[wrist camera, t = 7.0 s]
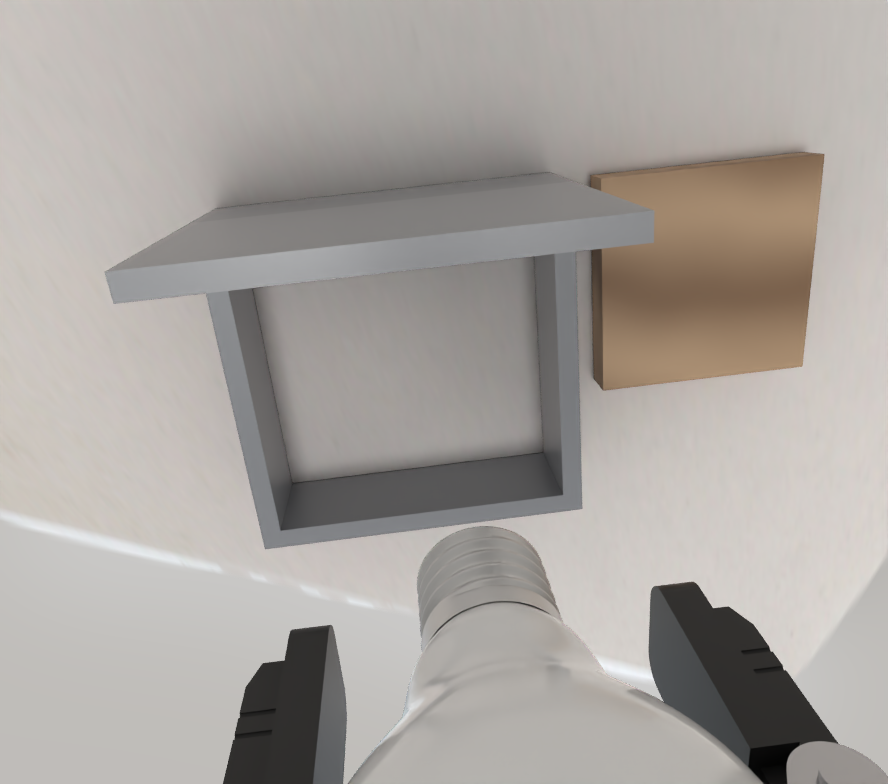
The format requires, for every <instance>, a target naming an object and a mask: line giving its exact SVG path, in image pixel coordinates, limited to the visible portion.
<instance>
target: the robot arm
mask: <svg viewBox="0 0 888 784" xmlns="http://www.w3.org/2000/svg"><path fill="white" fill-rule="evenodd" d="M649 660H650V666H651V671H652V674H653V678H654V681H655V684H656V686H657V688H658V690H659V693H660V694H661V697H662V699H663V701H664V703H666V704H668V705H670V706H672V707H673V708H675V709H676V710H678V711H680V712H681V713H683V714H684V715H686V716H688V717H689V718H690V719H692V720H693V721H695V722H696V723H698V724H699V725H701V726H702V727H703V728H705V729H706V730H707V731H709V732H710V733H711V734H712V735H714V736H715V737H716V738H717V739H719V740H720V741H721V742H722V743H723V744H725V745H726V746H727V747H728V748H729V749H730V750H731V751H732V752H734V753H735V754H736V755H737V756H738V757H739V758H740V759H741V760H742V761H743V762H744V763H745V764H746V765H747V766H748V767H749V768H750V769H751V770H752V771H753V772H754V773H755V774H756V775H757V776H758V777H759V778H760V780H761V781H762V782H763V783H764V784H888V776H887V775H886V774H885V772H884V771H883V770H882V769H881V768H880V767H879V766H878V765H877V764H875V763H874V762H873V761H872V760H871V759H869V758H868V757H866V756H864V755H863V754H861V753H859V752H858V751H856V750H854V749H851V748H849V747H846V746H844V745H840V744H838V742H837V741H836V740H835V739H834V737H833V736H832V734H831V733H830V731H829V730H828V729H827V727H826V726H825V725H824V723H823V722H822V720H821V719H820V717H819V716H818V715H817V713H816V712H815V711H814V709H813V708H812V706H811V705H810V703H809V702H808V701H807V699H806V698H805V696H804V695H803V694H802V692H801V691H800V689H799V688H798V687H797V685H796V684H795V682H794V681H793V679H792V678H791V677H790V675H789V674H788V672H787V671H786V670H785V671H784V670H783V665H782V664H781V663H780V661H779V660H778V658H777V657H776V656H775V654H774V653H773V652H771V651H770V648H769V646H768V644H767V643H766V642H765V640H764V639H763V637H762V636H761V635H760V633H759V632H758V630H757V629H756V628H755V626H754V625H753V624H752V623H751V622H749V621H748V620H746V619H745V618H744V617H742V616H741V615H739V614H738V613H737V612H735V611H734V610H733V609H731V608H730V607H721V608H712V606H711V604H710V603H709V601H708V600H707V598H706V597H705V595H704V594H703V592H702V591H701V589H700V588H699V586H698V585H697V584H696V583H694V582H686V583H678V584H670V585H661V586H654V587H653V588H652V590H651V599H650V627H649ZM346 721H347V712H346V697H345V688H344V683H343V677H342V672H341V666H340V661H339V655H338V650H337V645H336V639H335V634H334V630H333V627H332V625H327V626H318V627H310V628H302V629H294V630H291V632H290V635H289V639H288V645H287V651H286V656H285V661H277V662H269V663H263V664H262V665H261V667H260V668H259V670H258V671H257V672H256V674H255V675H254V676H253V678H252V680H251V681H250V682H249V683H248V685H247V686H246V689H245V693H244V698H243V702H242V706H241V710H240V718H239V719H238V723H237V727H236V731H235V740H233V744H232V748H231V752H230V756H229V761H228V765H227V769H226V773H225V777H224V782H223V784H343V775H344V758H345V741H346Z"/></svg>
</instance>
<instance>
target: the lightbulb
mask: <svg viewBox="0 0 888 784" xmlns="http://www.w3.org/2000/svg"><path fill="white" fill-rule="evenodd" d="M417 591H418V603H419V617H420V624H421V626H420V631H421V638H422V641H421V648H422V654H421V655H420V657H419V659H418V661H417V663H416V665H415V668H414V670H413V673H412V676H411V679H410V683H409V687H408V691H407V696H406V702H405V707H404V712H403V716H402V718H401V719H400V720H399V722H398V723H397V724H396V725H395V726H394V727H393V728H392V729H391V731H389V732H388V734H387V735H386V736H385V737H384V738H383V739H382V740H381V741H380V743H379V744H378V745H377V746H376V747H375V748H374V750H373V751H372V752H371V753H370V755H369V756H368V757H367V758H366V759H365V761H364V762H363V763H362V765H361V766H360V767H359V769H358V770H357V771H356V773H355V774H354V776H353V777H352V779H351V780H350V781H349V783H348V784H764V783H763V782H762V781H761V780H760V778H759V777H758V776H757V775H756V774H755V773H754V772H753V771H752V770H751V769H750V768H749V767H748V766H747V765H746V764H745V763H744V762H743V761H742V760H741V759H740V758H739V757H738V756H737V755H736V754H735V753H734V752H732V751H731V750H730V749H729V748H728V747H727V746H726V745H725V744H723V743H722V742H721V741H720V740H719V739H717V738H716V737H715V736H714V735H712V734H711V733H710V732H709V731H707V730H706V729H705V728H703V727H702V726H701V725H699V724H698V723H696V722H695V721H693V720H692V719H690V718H689V717H688V716H686V715H684V714H683V713H681V712H680V711H678V710H676V709H675V708H673V707H672V706H670V705H668V704H666V703H664V702H663V701H661V700H659V699H657V698H655V697H654V696H652V695H650V694H648V693H646V692H643V691H641V690H639V689H637V688H635V687H633V686H631V685H629V684H627V683H624V682H622V681H620V680H618V679H616V678H613V677H611V676H609V675H608V674H607V673H606V672H605V671H604V670H603V668H602V667H601V665H600V664H599V662H598V661H597V659H596V658H595V656H594V655H593V654H592V652H591V651H590V649H589V648H588V647H587V645H586V644H585V643H584V642H583V641H582V639H581V638H580V637H579V636H578V635H577V634H576V633H575V632H574V631H572V630H571V629H570V628H569V627H568V626H567V625H565V624H564V623H563V620H562V618H561V616H560V612H559V609H558V607H557V605H556V602H555V598H554V595H553V593H552V591H551V587H550V584H549V581H548V579H547V576H546V572H545V569H544V567H543V565H542V562H541V559H540V557H539V555H538V553H537V551H536V550H535V548H534V547H533V546H532V545H531V544H530V543H529V542H528V541H527V540H526V539H524V538H523V537H522V536H520V535H518V534H516V533H514V532H512V531H509V530H506V529H503V528H498V527H489V526H480V527H472V528H468V529H464V530H461V531H458V532H456V533H453V534H451V535H449V536H447V537H446V538H444V539H443V540H441V541H440V542H439V543H437V544H436V545H435V546H434V547H433V548H432V549H431V550H430V552H429V553H428V554H427V555H426V557H425V558H424V560H423V562H422V564H421V566H420V569H419V572H418V577H417Z"/></svg>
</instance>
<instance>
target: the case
mask: <svg viewBox="0 0 888 784" xmlns="http://www.w3.org/2000/svg"><path fill="white" fill-rule="evenodd" d="M647 243H654V210H651V209H649V208H646V207H643V206H640V205H638V204H635V203H632V202H629V201H627V200H624V199H621V198H619V197H616V196H613V195H610V194H608V193H605V192H602V191H599V190H597V189H594V188H591V187H588V186H586V185H583V184H580V183H578V182H575V181H572V180H569V179H567V178H564V177H561V176H558V175H556V174H553V173H550V172H547V173H538V174H529V175H519V176H510V177H501V178H492V179H483V180H473V181H464V182H455V183H446V184H437V185H427V186H418V187H409V188H400V189H391V190H381V191H372V192H363V193H354V194H345V195H335V196H326V197H317V198H308V199H299V200H289V201H280V202H271V203H262V204H253V205H243V206H234V207H225V208H216V209H214V210H212V211H210V212H209V213H207V214H205V215H203V216H202V217H200V218H198V219H196V220H195V221H193V222H191V223H189V224H188V225H186V226H184V227H182V228H181V229H179V230H177V231H175V232H174V233H172V234H170V235H168V236H166V237H165V238H163V239H161V240H159V241H158V242H156V243H154V244H152V245H151V246H149V247H147V248H145V249H144V250H142V251H140V252H138V253H137V254H135V255H133V256H131V257H130V258H128V259H126V260H124V261H123V262H121V263H119V264H117V265H116V266H114V267H112V268H110V269H109V270H107V271H105V275H106V279H107V282H108V286H109V289H110V293H111V296H112V300H113V303H114V304H116V303H125V302H134V301H143V300H152V299H161V298H169V297H178V296H187V295H196V294H205V293H206V296H207V300H208V304H209V309H210V313H211V317H212V322H213V326H214V330H215V335H216V339H217V343H218V348H219V352H220V356H221V361H222V365H223V369H224V374H225V378H226V382H227V387H228V391H229V395H230V400H231V404H232V408H233V413H234V417H235V421H236V426H237V430H238V434H239V439H240V443H241V447H242V452H243V456H244V460H245V465H246V469H247V473H248V477H249V482H250V486H251V490H252V495H253V499H254V503H255V508H256V512H257V516H258V521H259V525H260V529H261V534H262V538H263V542H264V547H265V549H270V548H278V547H286V546H294V545H302V544H310V543H318V542H326V541H333V540H341V539H349V538H357V537H365V536H373V535H381V534H389V533H397V532H404V531H412V530H420V529H428V528H436V527H444V526H452V525H460V524H468V523H475V522H483V521H491V520H499V519H507V518H515V517H523V516H531V515H539V514H546V513H554V512H562V511H570V510H578V509H582V479H581V439H580V399H579V359H578V319H577V279H576V251H585V250H594V249H603V248H612V247H621V246H629V245H638V244H647ZM532 256H534V265H535V286H536V307H537V328H538V349H539V370H540V391H541V411H542V432H543V453H536V454H528V455H520V456H512V457H504V458H496V459H488V460H480V461H472V462H463V463H455V464H447V465H439V466H431V467H423V468H415V469H407V470H399V471H391V472H383V473H374V474H366V475H358V476H350V477H342V478H334V479H326V480H318V481H310V482H302V483H294V484H292V480H291V475H290V470H289V465H288V461H287V456H286V451H285V446H284V441H283V436H282V431H281V426H280V421H279V417H278V412H277V407H276V402H275V397H274V392H273V387H272V382H271V377H270V373H269V368H268V363H267V358H266V353H265V348H264V343H263V338H262V334H261V329H260V324H259V319H258V314H257V309H256V304H255V299H254V294H253V290H252V288H258V287H267V286H276V285H284V284H293V283H302V282H311V281H320V280H329V279H338V278H346V277H355V276H364V275H373V274H382V273H391V272H399V271H408V270H417V269H426V268H435V267H444V266H453V265H461V264H470V263H479V262H488V261H497V260H506V259H514V258H523V257H532Z"/></svg>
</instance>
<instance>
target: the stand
mask: <svg viewBox="0 0 888 784" xmlns="http://www.w3.org/2000/svg"><path fill="white" fill-rule="evenodd" d="M823 164H824V154H817V153H807V152H800V153H791V154H782V155H773V156H764V157H755V158H745V159H736V160H727V161H718V162H709V163H700V164H690V165H681V166H672V167H663V168H654V169H645V170H635V171H626V172H617V173H608V174H599V175H591V188H594V189H597V190H599V191H602V192H605V193H608V194H610V195H613V196H616V197H619V198H621V199H624V200H627V201H629V202H632V203H635V204H638V205H640V206H643V207H646V208H649V209H651V210H654V243H647V244H638V245H629V246H621V247H612V248H603V249H594V250H592V295H593V356H594V379H595V381H596V382H597V383H598V384H599V386H600V387H601V388H602V389H603V390H611V389H620V388H628V387H636V386H645V385H653V384H661V383H670V382H678V381H686V380H694V379H703V378H711V377H719V376H728V375H736V374H744V373H752V372H761V371H769V370H777V369H786V368H794V367H802V365H803V355H804V346H805V336H806V326H807V317H808V307H809V298H810V288H811V279H812V269H813V259H814V250H815V240H816V231H817V221H818V212H819V202H820V193H821V183H822V173H823Z"/></svg>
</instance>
